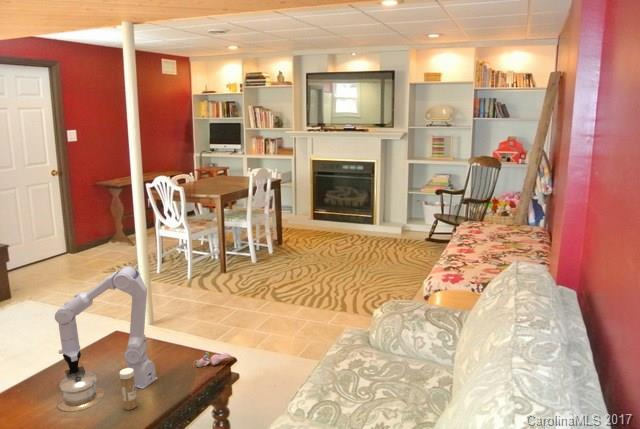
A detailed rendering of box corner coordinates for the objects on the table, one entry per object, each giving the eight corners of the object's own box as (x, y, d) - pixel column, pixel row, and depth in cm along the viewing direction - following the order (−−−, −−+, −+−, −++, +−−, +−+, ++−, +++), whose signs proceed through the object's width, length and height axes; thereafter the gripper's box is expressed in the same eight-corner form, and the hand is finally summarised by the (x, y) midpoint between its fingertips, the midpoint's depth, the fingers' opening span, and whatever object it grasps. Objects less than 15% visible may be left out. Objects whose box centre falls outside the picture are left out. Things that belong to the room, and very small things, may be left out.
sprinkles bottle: (136, 409, 171) (132, 373, 168) (122, 411, 170) (118, 375, 167) (138, 401, 176) (134, 366, 173) (124, 403, 175) (120, 368, 172)
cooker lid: (99, 386, 175) (98, 380, 175) (62, 397, 169) (61, 390, 169) (91, 368, 188) (90, 362, 187) (57, 378, 181) (56, 372, 181)
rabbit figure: (194, 373, 196) (232, 363, 198) (190, 360, 195) (228, 350, 197) (195, 365, 202) (232, 356, 204) (191, 352, 201) (228, 343, 203)
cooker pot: (107, 401, 176) (105, 387, 175) (60, 417, 168) (57, 402, 167) (99, 383, 188) (97, 369, 187) (54, 396, 180) (52, 382, 179)
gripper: (54, 333, 186) (59, 366, 189) (59, 347, 175) (64, 383, 177) (75, 328, 190) (79, 361, 193) (81, 342, 178) (86, 377, 181)
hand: (74, 371), depth 186 cm, fingers closed
